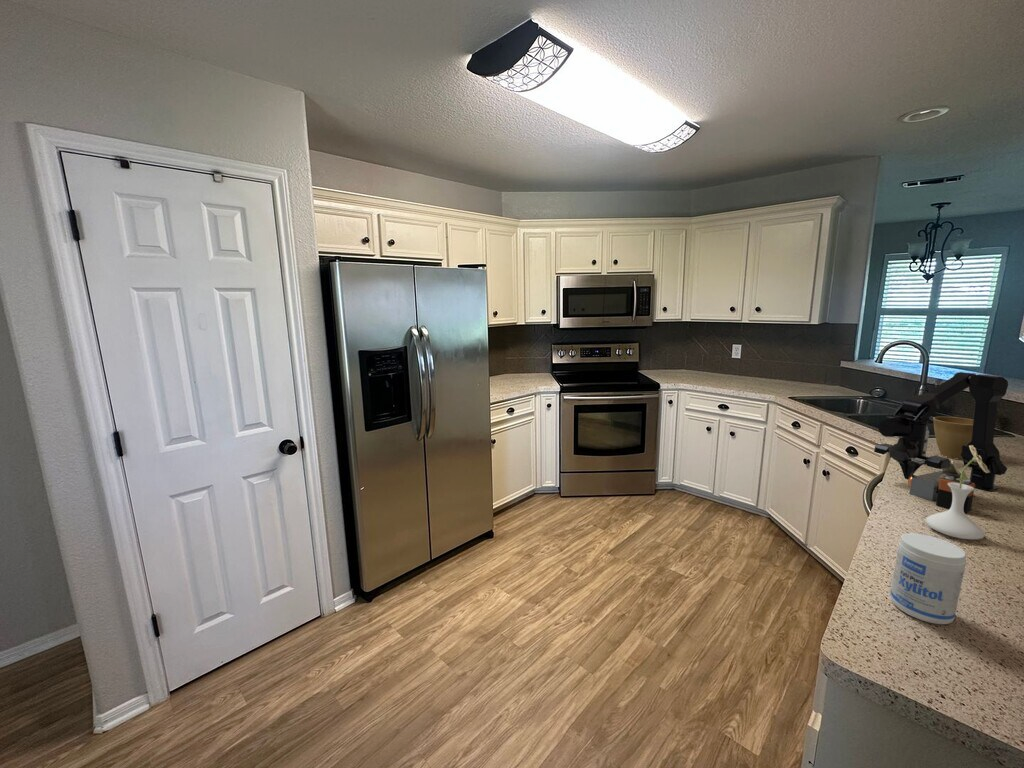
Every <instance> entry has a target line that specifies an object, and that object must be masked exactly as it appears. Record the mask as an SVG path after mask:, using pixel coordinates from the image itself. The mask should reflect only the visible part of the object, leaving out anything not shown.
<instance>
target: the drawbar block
mask: <svg viewBox="0 0 1024 768" xmlns="http://www.w3.org/2000/svg"><path fill="white" fill-rule="evenodd" d="M946 476H952V477H953V478H954V479H960V477H961V476H958V475H954V474H950V473H947V472H943V471H942V470H938V471H934V472H929V473H925V474H924V473H923V474H921V475H920V474H919V475H916V476H914V477H912V480H911V486H910V487H909V495H913V496H915V497H918V498H922V499H924V500H928V501H930V500H931V501H930V502H934V501H937V494H938V492H937V486H939V482H940V479H941V478H944V477H946ZM962 478H963V476H962Z"/></svg>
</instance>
